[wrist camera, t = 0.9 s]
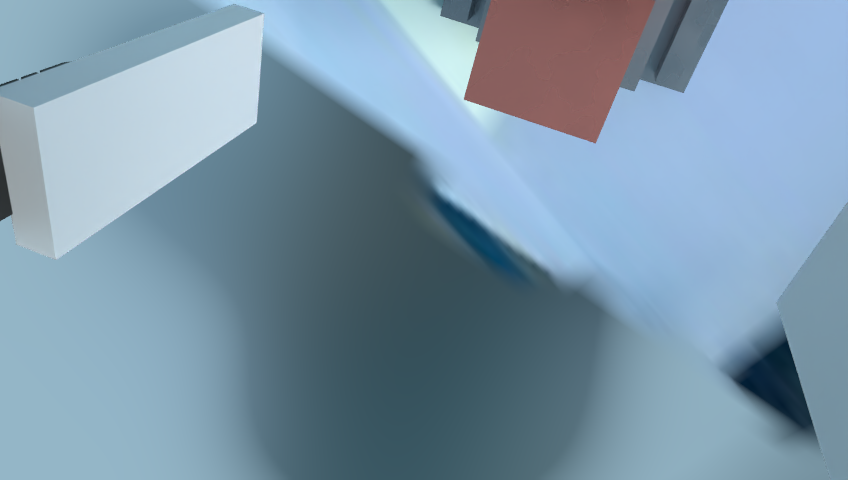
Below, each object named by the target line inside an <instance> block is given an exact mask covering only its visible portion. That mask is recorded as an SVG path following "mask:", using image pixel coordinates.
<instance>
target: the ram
mask: <svg viewBox="0 0 848 480" xmlns="http://www.w3.org/2000/svg"><path fill="white" fill-rule="evenodd" d="M673 2H674V0H486V4H485V8H484V11H483V15H482V19H481V22H480V26H479V30H478V34H477V37H476V41H478V42H479V46H478V49H477V53H476V57H475V60H474V64H473V67H472V71H471V75H470V78H469V82H468V86H467V89H466V93H465V97H464V100H467V101H470V102H473V103H476V104H479V105H482V106H485V107H488V108H491V109H494V110H497V111H500V112H503V113H506V114H509V115H512V116H515V117H518V118H521V119H524V120H527V121H530V122H533V123H536V124H539V125H542V126H545V127H548V128H551V129H554V130H557V131H560V132H563V133H566V134H569V135H572V136H575V137H578V138H581V139H584V140H587V141H590V142H593V143H596V141H597V139H598V136H599V134H600V132H601V129H602V127H603V125H604V122H605V120H606V118H607V115H608V113H609V110H610V108H611V106H612V103H613V101H614V99H615V96H616V94H617V91H618V89H619V87H622V88H625V89H628V90H631V91H635V89H636V86H637V84H638V82H639V79H640V77H641V75H642V73H643V70H644V68H645V66H646V63H647V61H648V59H649V57H650V54H651V52H652V50H653V47H654V45H655V43H656V41H657V38H658V36H659V34H660V32H661V29H662V27H663V25H664V22H665V20H666V18H667V16H668V13H669V11H670V9H671V6H672V4H673Z"/></svg>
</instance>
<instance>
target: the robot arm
mask: <svg viewBox="0 0 848 480" xmlns="http://www.w3.org/2000/svg"><path fill="white" fill-rule="evenodd" d="M263 25H264V13H261V12H258V11H255V10H252V9H249V8H246V7H243V6H239V5H236V4H232V5H229V6H227V7H224V8H221V9H218V10H215V11H213V12H210V13H207V14H204V15H202V16H198V17H196V18H193V19H190V20H187V21H184V22H182V23H179V24H176V25H173V26H170V27H168V28H165V29H162V30H159V31H157V32H154V33H151V34H148V35H145V36H142V37H139V38H136V39H134V40H131V41H128V42H125V43H122V44H120V45H117V46H114V47H111V48H108V49H105V50H103V51H100V52H97V53H94V54H91V55H89V56H86V57H83V58H80V59H77V60H75V61H71V62H64V63H60V64H58V65H55V66H52V67H49V68H46V69H43V70H41V71H40V73H36V72H35V73H32V74H29V75H26V76H24V77H21V80H18V79H15V80H12V81H9V82H6V83H4V84H1V85H0V221H1V220H3V219H5V218H6V217H8V216H10V215H11V218H12V223H13V229H14V234H15V239H16V244H17V245H19V246H21V247H24V248H27V249H29V250H32V251H34V252H37V253H39V254H42V255H45V256H47V257H50V258H52V259H55V260H57V259H58V258H59V257H61V256H62V255H64V254H65V253H67V252H68V251H70V250H71V249H73V248H74V247H76V246H77V245H78V244H80V243H81V242H83V241H84V240H86V239H87V238H89V237H90V236H92V235H93V234H95V233H96V232H97V231H99V230H100V229H102V228H103V227H105V226H106V225H108V224H109V223H111V222H112V221H114V220H115V219H116V218H118V217H119V216H121V215H122V214H124V213H125V212H127V211H128V210H130V209H131V208H133V207H134V206H135V205H137V204H138V203H140V202H141V201H143V200H144V199H146V198H147V197H149V196H150V195H152V194H153V193H154V192H156V191H157V190H159V189H160V188H162V187H163V186H165V185H166V184H168V183H169V182H171V181H172V180H173V179H175V178H176V177H178V176H179V175H181V174H182V173H184V172H185V171H186V170H188V169H190V168H191V167H192V166H194V165H195V164H197V163H198V162H200V161H201V160H203V159H204V158H206V157H207V156H208V155H210V154H212V153H213V152H214V151H216V150H217V149H219V148H220V147H222V146H223V145H225V144H226V143H228V142H229V141H230V140H232V139H233V138H235V137H236V136H238V135H239V134H241V133H242V132H244V131H245V130H247V129H248V128H250V127H251V126H252V125H254V124H255V123H257V108H258V95H259V81H260V67H261V53H262V39H263ZM776 303H777V306H778V310H779V313H780V316H781V320H782V323H783V326H784V330H785V333H786V336H787V339H788V343H789V346H790V349H791V353H792V356H793V359H794V362H795V366H796V369H797V372H798V376H799V379H800V382H801V385H802V389H803V392H804V395H805V399H806V402H807V405H808V409H809V412H810V415H811V418H812V422H813V425H814V428H815V432H816V435H817V438H818V441H819V445H820V448H821V451H822V455H823V458H824V461H825V464H826V468H827V471H828V474H829V478H830V480H848V202H847V204H846V205H845V206H844V208H843V209H842V211H841V212H840V213H839V215H838V216H837V218H836V219H835V220H834V222H833V223H832V225H831V226H830V227H829V229H828V230H827V232H826V233H825V235H824V236H823V237H822V239H821V240H820V242H819V243H818V244H817V246H816V247H815V249H814V250H813V251H812V253H811V254H810V256H809V257H808V258H807V260H806V261H805V263H804V264H803V265H802V267H801V268H800V270H799V271H798V273H797V274H796V275H795V277H794V278H793V280H792V281H791V282H790V284H789V285H788V287H787V288H786V289H785V291H784V292H783V294H782V295H781V296H780V298H779V299H778V301H777V302H776Z"/></svg>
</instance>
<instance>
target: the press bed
mask: <svg viewBox="0 0 848 480" xmlns="http://www.w3.org/2000/svg"><path fill="white" fill-rule="evenodd" d="M727 2H728V0H674V2H673V4H672V6H671V9H670V11H669V13H668V16H667V18H666V20H665V22H664V25H663V27H662V29H661V32H660V34H659V36H658V38H657V41H656V43H655V45H654V47H653V50H652V52H651V54H650V57H649V59H648V61H647V63H646V66H645V68H644V70H643V73H642V75H641V77H640V79H641V80H644V81H648V82H651V83H654V84H657V85H660V86H663V87H667V88H670V89H673V90H676V91H679V92H682V93H684V91H685V89H686V87H687V85H688V82H689V80H690V78H691V76H692V74H693V72H694V70H695V68H696V66H697V64H698V62H699V60H700V58H701V56H702V54H703V52H704V50H705V48H706V45H707V43H708V41H709V39H710V37H711V35H712V33H713V31H714V29H715V27H716V25H717V23H718V21H719V19H720V17H721V15H722V13H723V10H724V8H725V6H726V4H727ZM485 4H486V0H444V2H443V6H442V11H441V15H440V16H443V17H446V18H449V19H452V20H455V21H459V22H462V23H465V24H468V25H471V26H474V27H477V28H479V26H480V22H481V19H482V15H483V11H484V8H485Z"/></svg>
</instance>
